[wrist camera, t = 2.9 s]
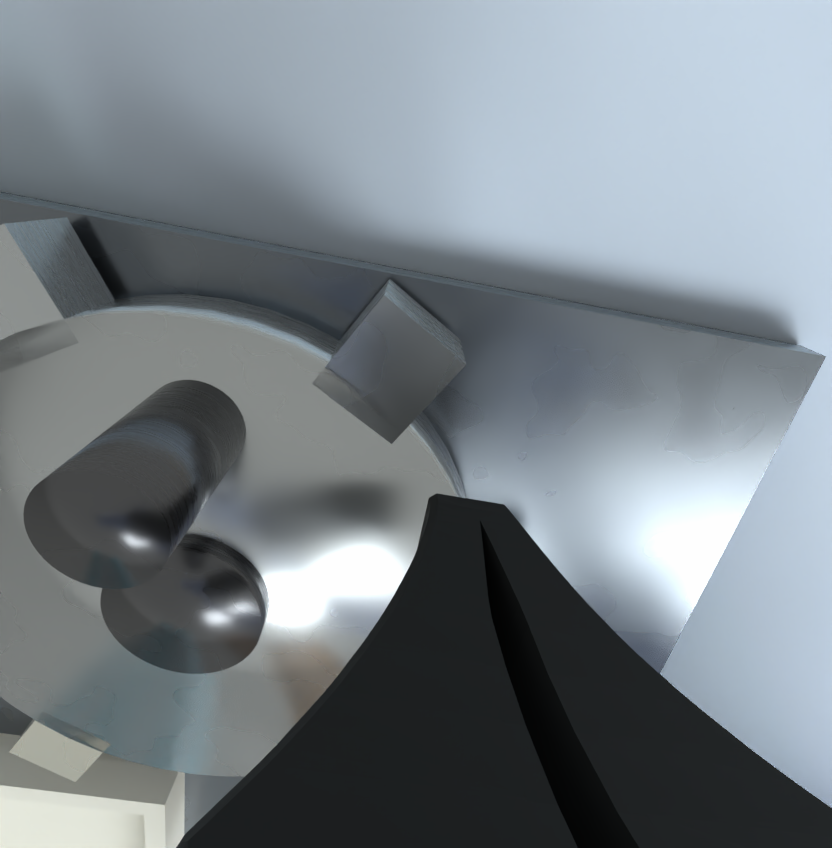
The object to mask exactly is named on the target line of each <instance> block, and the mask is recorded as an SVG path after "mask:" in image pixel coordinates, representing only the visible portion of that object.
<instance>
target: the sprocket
mask: <svg viewBox="0 0 832 848" xmlns="http://www.w3.org/2000/svg"><path fill="white" fill-rule="evenodd" d="M465 365H466V362H465V358H464V354H463V350H462V345H461V341H460V339H459V338H458V337H457V336H456V335H454V334H453V333H452V332H451V331H450V330H449V329H447V328H446V327H445V326H444V325H443V324H442V323H440V322H439V321H438V320H437V319H436V318H435V317H433V316H432V315H431V314H430V313H429V312H428V311H426V310H425V309H424V308H423V307H422V306H421V305H419V304H418V303H417V302H416V301H415V300H414V299H413V298H411V297H410V296H409V295H408V294H407V293H406V292H404V291H403V290H402V289H401V288H400V287H399V286H397V285H396V284H395V283H394V282H393V281H392V280H390V279H389V280H388V281H387V283H386V284H385V285H384V286H383V288H382V289H381V290H380V291H379V293H378V294H377V295H376V296H375V297H374V299H373V300H372V301H371V302H370V304H369V305H368V306H367V307H366V308H365V310H364V311H363V312H362V313H361V315H360V316H359V317H358V318H357V320H356V321H355V322H354V323H353V324H352V326H351V327H350V328H349V329H348V331H347V332H346V333H345V334H344V335H343V337H342V338H341V339H340V340H337V339H336V338H334V337H332V336H330V335H328V334H326V333H324V332H322V331H321V330H319V329H317V328H315V327H313V326H311V325H309V324H307V323H304V322H302V321H299V320H296V319H294V318H291V317H289V316H286V315H283V314H281V313H278V312H276V311H273V310H270V309H267V308H262V307H258V306H254V305H250V304H246V303H242V302H238V301H234V300H230V299H223V298H215V297H206V296H198V295H190V294H176V295H143V296H137V297H130V298H123V299H117V300H115V299H114V297H113V296H112V294H111V292H110V291H109V289H108V287H107V285H106V284H105V282H104V280H103V279H102V277H101V275H100V273H99V272H98V270H97V268H96V267H95V265H94V263H93V261H92V260H91V258H90V256H89V255H88V253H87V251H86V249H85V248H84V246H83V244H82V242H81V241H80V239H79V237H78V236H77V234H76V232H75V230H74V229H73V227H72V225H71V224H70V222H69V220H68V218H67V217H66V218H55V219H45V220H35V221H25V222H15V223H5V224H2V225H0V697H2V698H3V699H4V700H6V701H7V702H8V703H9V704H11V705H12V706H14V707H15V708H17V709H18V710H20V711H22V712H23V713H25V714H26V715H28V716H29V717H31V718H33V720H32V721H31V722H30V724H29V725H28V727H27V728H26V729H25V731H24V732H23V734H22V735H21V736H20V738H19V739H18V740H17V742H16V743H15V745H14V746H13V747H12V749H11V750H10V751H9V752H10V753H12V754H14V755H16V756H18V757H21V758H23V759H25V760H27V761H30V762H32V763H34V764H36V765H38V766H41V767H43V768H45V769H47V770H49V771H52V772H54V773H56V774H58V775H61V776H63V777H65V778H67V779H69V780H72V781H74V782H76V781H77V780H78V779H79V778H80V777H81V775H82V774H83V773H84V772H85V771H86V770H87V769H88V768H89V767H90V766H91V765H92V764H93V763H94V762H95V761H96V759H97V758H98V757H99V756H100V755H101V754H102V753H106V754H109V755H112V756H115V757H118V758H121V759H124V760H127V761H131V762H135V763H139V764H143V765H147V766H151V767H155V768H159V769H165V770H171V771H177V772H183V773H189V774H198V775H210V776H243V777H245V776H246V775H247V774H248V773H249V772H250V771H251V770H252V769H253V768H254V767H255V766H256V765H257V764H258V763H259V762H260V761H261V760H262V759H263V758H264V757H265V756H266V755H267V754H268V753H269V752H270V751H271V750H272V749H273V748H274V747H275V746H276V745H277V744H278V743H279V742H280V741H281V740H282V738H283V737H284V736H285V735H286V734H287V733H288V732H289V731H290V730H291V728H292V727H293V726H294V725H295V724H296V723H297V722H298V721H299V720H300V718H301V717H302V716H303V715H304V714H305V713H306V712H307V711H308V710H309V709H310V707H311V706H312V705H313V704H314V703H315V702H316V701H317V700H318V699H319V697H320V696H321V695H322V694H323V693H324V692H325V691H326V689H327V688H328V687H329V686H330V685H331V683H332V682H333V681H334V680H335V678H336V677H337V676H338V675H339V673H340V672H341V671H342V670H343V668H344V667H345V666H346V664H347V663H348V662H349V660H350V659H351V658H352V656H353V655H354V654H355V652H356V651H357V650H358V648H359V647H360V646H361V645H362V643H363V642H364V640H365V639H366V638H367V636H368V635H369V633H370V632H371V630H372V629H373V627H374V626H375V624H376V623H377V622H378V620H379V619H380V617H381V615H382V614H383V612H384V611H385V609H386V608H387V606H388V604H389V603H390V601H391V599H392V598H393V596H394V594H395V592H396V591H397V589H398V587H399V585H400V583H401V581H402V579H403V578H404V576H405V574H406V572H407V570H408V568H409V567H410V564H411V562H412V560H413V558H414V556H415V553H416V551H417V547H418V543H419V539H420V534H421V530H422V525H423V521H424V517H425V512H426V508H427V504H428V499H429V497H431V496H433V495H435V494H436V493H438V494H444V495H450V496H456V497H462V498H466V496H465V493H464V489H463V486H462V482H461V479H460V476H459V474H458V471H457V469H456V467H455V465H454V463H453V460H452V458H451V456H450V454H449V452H448V449H447V447H446V446H445V444H444V443H443V441H442V439H441V438H440V436H439V435H438V433H437V432H436V430H435V428H434V427H433V425H432V424H431V422H430V421H429V419H428V418H427V417H426V415H425V414H424V413H423V412H422V411H423V410H424V409H425V408H426V407H427V406H428V405H429V404H430V403H431V402H432V401H433V400H434V398H435V397H436V396H437V395H438V394H439V393H440V392H441V391H442V390H443V389H444V388H445V387H446V386H447V385H448V384H449V382H450V381H451V380H452V379H453V378H454V377H455V376H456V375H457V374H458V373H459V372H460V371H461V370H462V369H463V367H464V366H465Z"/></svg>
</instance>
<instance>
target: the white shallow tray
mask: <svg viewBox="0 0 832 848" xmlns="http://www.w3.org/2000/svg"><path fill="white" fill-rule="evenodd" d="M19 738H20V735H12V734H4V733H0V848H176V847H177V846H178V844H179V843H180V841H181V839H182V838H183V836H184V810H185V773H183V772H177V771H171V770H165V769H159V768H155V767H151V766H147V765H143V764H139V763H135V762H131V761H127V760H124V759H121V758H118V757H115V756H112V755H109V754H106V753H102V754H101V755H100V756H99V757H98V758H97V759H96V761H95V762H94V763H93V764H92V765H91V766H90V767H89V768H88V769H87V770H86V771H85V772H84V773H83V774H82V775H81V777H80V778H79V779H78V780H77V781H76V782H74V781H72V780H69V779H67V778H65V777H63V776H61V775H58V774H56V773H54V772H52V771H49V770H47V769H45V768H43V767H41V766H38V765H36V764H34V763H32V762H30V761H27V760H25V759H23V758H21V757H18V756H16V755H14V754H12V753H10V752H9V751H10V750H11V749H12V747H13V746H14V745H15V743H16V742H17V740H18V739H19Z"/></svg>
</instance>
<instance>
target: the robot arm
mask: <svg viewBox="0 0 832 848" xmlns="http://www.w3.org/2000/svg"><path fill="white" fill-rule="evenodd" d="M176 848H832V808H830V807H829V806H828V805H826V804H825V803H823V802H822V801H821V800H819V799H818V798H816V797H815V796H813V795H812V794H811V793H809V792H808V791H806V790H805V789H803V788H802V787H801V786H799V785H798V784H796V783H795V782H794V781H792V780H791V779H790V778H788V777H787V776H786V775H784V774H783V773H782V772H780V771H779V770H777V769H776V768H775V767H773V766H772V765H771V764H769V763H768V762H767V761H765V760H764V759H763V758H761V757H760V756H759V755H757V754H756V753H755V752H753V751H752V750H751V749H749V748H748V747H747V746H746V745H744V744H743V743H742V742H741V741H739V740H738V739H737V738H736V737H734V736H733V735H732V734H731V733H729V732H728V731H727V730H726V729H724V728H723V727H722V726H721V725H719V724H718V723H717V722H716V721H714V720H713V719H712V718H711V717H709V716H708V715H707V714H706V713H704V712H703V711H702V710H701V709H699V708H698V707H697V706H696V705H695V704H693V703H692V702H691V701H690V700H689V699H688V698H686V697H685V696H684V695H683V694H682V693H680V692H679V691H678V690H677V689H676V688H675V687H673V686H672V685H671V684H670V683H669V682H668V681H667V680H666V679H665V678H664V677H662V676H661V675H660V674H659V673H658V672H657V671H656V670H655V669H654V668H653V667H651V666H650V665H649V664H648V663H647V662H646V661H645V660H644V659H643V658H642V657H640V656H639V655H638V654H637V653H636V652H635V651H634V650H633V649H632V648H631V647H630V646H629V645H628V644H627V643H626V642H625V641H624V640H623V639H622V638H620V637H619V636H618V635H617V634H616V633H615V632H614V631H613V629H612V628H611V627H610V626H609V625H608V624H607V623H606V622H605V621H604V620H603V619H602V618H601V617H600V616H599V615H598V614H597V613H596V612H595V611H594V610H593V609H592V607H591V606H590V605H589V604H588V603H587V602H586V601H585V600H584V599H583V598H582V597H581V596H580V594H579V593H578V592H577V591H576V590H575V589H574V588H573V587H572V586H571V584H570V583H569V582H568V581H567V580H566V579H565V578H564V576H563V575H562V574H561V573H560V572H559V570H558V569H557V568H556V567H555V566H554V565H553V563H552V562H551V561H550V560H549V559H548V557H547V556H546V555H545V554H544V553H543V551H542V550H541V549H540V548H539V546H538V545H537V544H536V543H535V541H534V540H533V539H532V538H531V536H530V535H529V534H528V533H527V531H526V530H525V529H524V528H523V526H522V525H521V524H520V523H519V521H518V520H517V519H516V518H515V516H514V515H513V514H512V513H511V512H510V510H509V509H508V508H507V507H506V506H505V505H504V504H498V503H492V502H486V501H480V500H474V499H468V498H462V497H456V496H450V495H444V494H438V493H436V494H435V495H433V496H431V497H429V499H428V504H427V508H426V512H425V517H424V521H423V525H422V530H421V534H420V539H419V543H418V547H417V551H416V553H415V556H414V558H413V560H412V562H411V564H410V567H409V568H408V570H407V572H406V574H405V576H404V578H403V579H402V581H401V583H400V585H399V587H398V589H397V591H396V592H395V594H394V596H393V598H392V599H391V601H390V603H389V604H388V606H387V608H386V609H385V611H384V612H383V614H382V615H381V617H380V619H379V620H378V622H377V623H376V624H375V626H374V627H373V629H372V630H371V632H370V633H369V635H368V636H367V638H366V639H365V640H364V642H363V643H362V645H361V646H360V647H359V648H358V650H357V651H356V652H355V654H354V655H353V656H352V658H351V659H350V660H349V662H348V663H347V664H346V666H345V667H344V668H343V670H342V671H341V672H340V673H339V675H338V676H337V677H336V678H335V680H334V681H333V682H332V683H331V685H330V686H329V687H328V688H327V689H326V691H325V692H324V693H323V694H322V695H321V696H320V697H319V699H318V700H317V701H316V702H315V703H314V704H313V705H312V706H311V707H310V709H309V710H308V711H307V712H306V713H305V714H304V715H303V716H302V717H301V718H300V720H299V721H298V722H297V723H296V724H295V725H294V726H293V727H292V728H291V730H290V731H289V732H288V733H287V734H286V735H285V736H284V737H283V738H282V740H281V741H280V742H279V743H278V744H277V745H276V746H275V747H274V748H273V749H272V750H271V751H270V752H269V753H268V754H267V755H266V756H265V757H264V758H263V759H262V760H261V761H260V762H259V763H258V764H257V765H256V766H255V767H254V768H253V769H252V770H251V771H250V772H249V773H248V774H247V775H246V776H245V777H244V778H243V779H242V780H241V781H240V782H239V783H238V784H237V785H236V786H235V787H233V788H232V789H231V790H230V791H229V792H228V793H227V794H226V795H225V796H224V797H223V798H222V799H221V800H220V801H219V802H218V803H217V804H216V805H215V806H214V807H213V808H212V809H211V810H210V811H208V812H207V813H206V814H205V815H204V816H203V817H202V818H201V819H200V820H199V821H198V822H197V823H196V824H195V825H194V826H193V827H192V828H191V829H190V830H189V831H188V832H187V833H186V834H185V835H184V836H183V838H182V839H181V841H180V843H179V844H178V846H177V847H176Z"/></svg>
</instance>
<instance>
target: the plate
mask: <svg viewBox="0 0 832 848" xmlns="http://www.w3.org/2000/svg"><path fill="white" fill-rule="evenodd" d="M66 217H67V218H68V220H69V222H70V224H71V225H72V227H73V229H74V230H75V232H76V234H77V236H78V237H79V239H80V241H81V242H82V244H83V246H84V248H85V249H86V251H87V253H88V255H89V256H90V258H91V260H92V261H93V263H94V265H95V267H96V268H97V270H98V272H99V273H100V275H101V277H102V279H103V280H104V282H105V284H106V285H107V287H108V289H109V291H110V292H111V294H112V296H113V297H114V299H115V300H117V299H123V298H130V297H137V296H143V295H176V294H190V295H198V296H206V297H215V298H223V299H230V300H234V301H238V302H242V303H246V304H250V305H254V306H258V307H262V308H267V309H270V310H273V311H276V312H278V313H281V314H283V315H286V316H289V317H291V318H294V319H296V320H299V321H302V322H304V323H307V324H309V325H311V326H313V327H315V328H317V329H319V330H321V331H322V332H324V333H326V334H328V335H330V336H332V337H334V338H336V339H337V340H340V339H341V338H342V337H343V335H344V334H345V333H346V332H347V331H348V329H349V328H350V327H351V326H352V324H353V323H354V322H355V321H356V320H357V318H358V317H359V316H360V315H361V313H362V312H363V311H364V310H365V308H366V307H367V306H368V305H369V304H370V302H371V301H372V300H373V299H374V297H375V296H376V295H377V294H378V293H379V291H380V290H381V289H382V288H383V286H384V285H385V284H386V283H387V281H388V280H389V279H390V280H392V281H393V282H394V283H395V284H396V285H397V286H399V287H400V288H401V289H402V290H403V291H404V292H406V293H407V294H408V295H409V296H410V297H411V298H413V299H414V300H415V301H416V302H417V303H418V304H419V305H421V306H422V307H423V308H424V309H425V310H426V311H428V312H429V313H430V314H431V315H432V316H433V317H435V318H436V319H437V320H438V321H439V322H440V323H442V324H443V325H444V326H445V327H446V328H447V329H449V330H450V331H451V332H452V333H453V334H454V335H456V336H457V337H458V338H459V339H460V341H461V345H462V350H463V354H464V358H465V362H466V365H465V366H464V367H463V369H462V370H461V371H460V372H459V373H458V374H457V375H456V376H455V377H454V378H453V379H452V380H451V381H450V382H449V384H448V385H447V386H446V387H445V388H444V389H443V390H442V391H441V392H440V393H439V394H438V395H437V396H436V397H435V398H434V400H433V401H432V402H431V403H430V404H429V405H428V406H427V407H426V408H425V409H424V410H423V411H422V412H423V413H424V414H425V415H426V417H427V418H428V419H429V421H430V422H431V424H432V425H433V427H434V428H435V430H436V432H437V433H438V435H439V436H440V438H441V439H442V441H443V443H444V444H445V446H446V447H447V449H448V452H449V454H450V456H451V458H452V460H453V463H454V465H455V467H456V469H457V471H458V474H459V476H460V479H461V482H462V486H463V489H464V493H465V496H466V498H468V499H474V500H480V501H486V502H492V503H498V504H504V505H505V506H506V507H507V508H508V509H509V510H510V512H511V513H512V514H513V515H514V516H515V518H516V519H517V520H518V521H519V523H520V524H521V525H522V526H523V528H524V529H525V530H526V531H527V533H528V534H529V535H530V536H531V538H532V539H533V540H534V541H535V543H536V544H537V545H538V546H539V548H540V549H541V550H542V551H543V553H544V554H545V555H546V556H547V557H548V559H549V560H550V561H551V562H552V563H553V565H554V566H555V567H556V568H557V569H558V570H559V572H560V573H561V574H562V575H563V576H564V578H565V579H566V580H567V581H568V582H569V583H570V584H571V586H572V587H573V588H574V589H575V590H576V591H577V592H578V593H579V594H580V596H581V597H582V598H583V599H584V600H585V601H586V602H587V603H588V604H589V605H590V606H591V607H592V609H593V610H594V611H595V612H596V613H597V614H598V615H599V616H600V617H601V618H602V619H603V620H604V621H605V622H606V623H607V624H608V625H609V626H610V627H611V628H612V629H613V631H614V632H615V633H616V634H617V635H618V636H619V637H620V638H622V639H623V640H624V641H625V642H626V643H627V644H628V645H629V646H630V647H631V648H632V649H633V650H634V651H635V652H636V653H637V654H638V655H639V656H640V657H642V658H643V659H644V660H645V661H646V662H647V663H648V664H649V665H650V666H651V667H653V668H654V669H655V670H656V671H657V672H658V673H659V674H660V672H661V670H662V668H663V666H664V664H665V663H666V661H667V659H668V657H669V655H670V653H671V651H672V649H673V647H674V645H675V643H676V642H677V640H678V638H679V636H680V634H681V632H682V630H683V628H684V626H685V624H686V622H687V621H688V619H689V617H690V615H691V613H692V611H693V609H694V607H695V605H696V603H697V601H698V600H699V598H700V596H701V594H702V592H703V590H704V588H705V586H706V584H707V582H708V580H709V579H710V577H711V575H712V573H713V571H714V569H715V567H716V565H717V563H718V561H719V560H720V558H721V556H722V554H723V552H724V550H725V548H726V546H727V544H728V542H729V540H730V539H731V537H732V535H733V533H734V531H735V529H736V527H737V525H738V523H739V521H740V519H741V518H742V516H743V514H744V512H745V510H746V508H747V506H748V504H749V502H750V500H751V498H752V497H753V495H754V493H755V491H756V489H757V487H758V485H759V483H760V481H761V479H762V477H763V476H764V474H765V472H766V470H767V468H768V466H769V464H770V462H771V460H772V458H773V456H774V455H775V453H776V451H777V449H778V447H779V445H780V443H781V441H782V439H783V437H784V436H785V434H786V432H787V430H788V428H789V426H790V424H791V422H792V420H793V418H794V416H795V415H796V413H797V411H798V409H799V407H800V405H801V403H802V401H803V399H804V397H805V395H806V394H807V392H808V390H809V388H810V386H811V384H812V382H813V380H814V378H815V376H816V374H817V373H818V371H819V369H820V367H821V365H822V363H823V361H824V359H825V357H826V356H823V355H821V354H819V353H816V352H814V351H812V350H809V349H807V348H805V347H803V346H800V345H795V344H789V343H784V342H779V341H774V340H769V339H763V338H758V337H753V336H748V335H742V334H737V333H732V332H727V331H722V330H716V329H711V328H706V327H701V326H696V325H690V324H685V323H680V322H675V321H670V320H664V319H659V318H654V317H649V316H643V315H638V314H633V313H628V312H623V311H617V310H612V309H607V308H602V307H597V306H591V305H586V304H581V303H576V302H571V301H565V300H560V299H555V298H550V297H544V296H539V295H534V294H529V293H524V292H518V291H513V290H508V289H503V288H498V287H492V286H487V285H482V284H477V283H472V282H466V281H461V280H456V279H451V278H445V277H440V276H435V275H430V274H425V273H419V272H414V271H409V270H404V269H399V268H393V267H388V266H383V265H378V264H373V263H367V262H362V261H357V260H352V259H346V258H341V257H336V256H331V255H326V254H320V253H315V252H310V251H305V250H300V249H294V248H289V247H284V246H279V245H274V244H268V243H263V242H258V241H253V240H247V239H242V238H237V237H232V236H227V235H221V234H216V233H211V232H206V231H201V230H195V229H190V228H185V227H180V226H174V225H169V224H164V223H159V222H154V221H148V220H143V219H138V218H133V217H128V216H122V215H117V214H112V213H107V212H102V211H96V210H91V209H86V208H81V207H75V206H70V205H65V204H60V203H55V202H49V201H44V200H39V199H34V198H29V197H23V196H18V195H13V194H8V193H3V192H0V225H2V224H5V223H15V222H25V221H35V220H45V219H55V218H66ZM32 720H33V718H31V717H29V716H28V715H26V714H25V713H23V712H22V711H20V710H18V709H17V708H15V707H14V706H12V705H11V704H9V703H8V702H7V701H6V700H4V699H3V698H2V697H0V733H4V734H12V735H20V736H21V735H22V734H23V732H24V731H25V729H26V728H27V727H28V725H29V724H30V722H31V721H32ZM243 778H244V777H243V776H210V775H198V774H189V773H185V810H184V835H185V834H186V833H187V832H188V831H189V830H190V829H191V828H192V827H193V826H194V825H195V824H196V823H197V822H198V821H199V820H200V819H201V818H202V817H203V816H204V815H205V814H206V813H207V812H208V811H210V810H211V809H212V808H213V807H214V806H215V805H216V804H217V803H218V802H219V801H220V800H221V799H222V798H223V797H224V796H225V795H226V794H227V793H228V792H229V791H230V790H231V789H232V788H233V787H235V786H236V785H237V784H238V783H239V782H240V781H241V780H242V779H243Z"/></svg>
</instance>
